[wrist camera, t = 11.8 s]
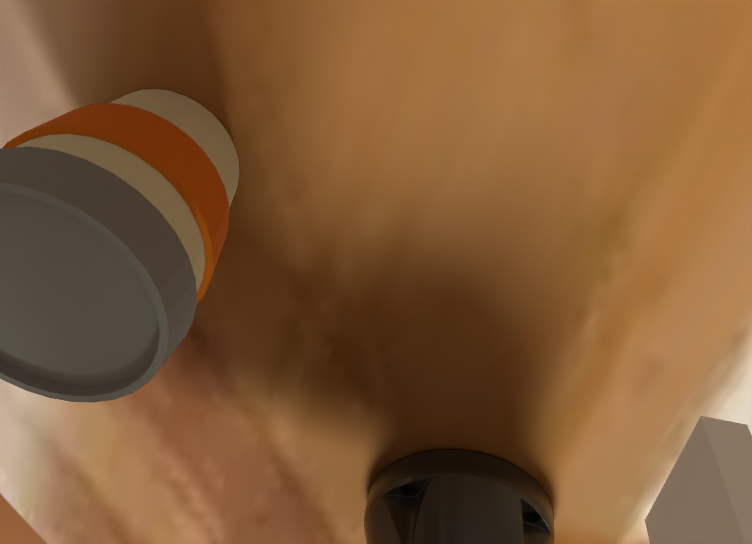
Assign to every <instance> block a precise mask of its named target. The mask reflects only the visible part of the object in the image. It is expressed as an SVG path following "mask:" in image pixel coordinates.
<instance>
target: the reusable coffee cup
mask: <svg viewBox="0 0 752 544" xmlns="http://www.w3.org/2000/svg"><path fill="white" fill-rule="evenodd" d="M239 176H240V173H239V160H238V156H237V152H236V148H235V146H234V144H233V142H232V139H231V137H230V135H229V134H228V132H227V131H226V129H225V128H224V127H223V125H222V124H221V123H220V121H219V120H218V119H217V118H216V117H215V116H214V115H213V114H212V113H211V112H210V111H208V110H207V109H206V108H204V107H203V106H202V105H201V104H199V103H198V102H196V101H194V100H192V99H190V98H188V97H186V96H185V95H182V94H179V93H175V92H172V91H168V90H161V89H144V90H139V91H135V92H132V93H129V94H127V95H125V96H122V97H120V98H118V99H116V100H114V101H112V102H110V103H104V104H92V105H88V106H85V107H82V108H78V109H75V110H73V111H71V112H68V113H66V114H64V115H62V116H60V117H57V118H55V119H53V120H51V121H48V122H46V123H44V124H42V125H40V126H37V127H35V128H33V129H31V130H28V131H26V132H24V133H22V134H21V135H19V136H17V137H16V138H14V139H12V140H11V141H9V142H7V143H6V145H5V146H4V147H3V148H2V149H0V378H1V379H2V380H4V381H6V382H9V383H11V384H13V385H15V386H18V387H20V388H22V389H24V390H26V391H30V392H33V393H36V394H39V395H42V396H46V397H49V398H54V399H60V400H65V401H71V402H100V401H107V400H114V399H117V398H120V397H123V396H126V395H128V394H131V393H133V392H135V391H136V390H138V389H139V388H141V387H142V386H144V385H145V384H147V383H148V382H149V381H150V380H151V379H152V377H153V376H154V375H155V374H156V373H157V372H158V370H159V369H160V368H161V367H162V365H163V364H164V363H165V362H166V360H167V359H168V358H169V357H170V355H171V354H172V353H173V352H174V350H175V349H176V348H177V347H178V345H179V344H180V343H181V342H182V340H183V339H184V338H185V337H186V335H187V333H188V331H189V329H190V327H191V325H192V323H193V320H194V317H195V311H196V305H197V304H198V303H199V302H200V300H201V299H202V298H203V296H204V294H205V292H206V290H207V288H208V285H209V283H210V281H211V278H212V275H213V273H214V270H215V267H216V264H217V262H218V259H219V256H220V253H221V251H222V248H223V245H224V242H225V240H226V237H227V232H228V227H229V222H230V215H229V208H230V206H231V203H232V200H233V198H234V195H235V192H236V190H237V187H238V181H239Z"/></svg>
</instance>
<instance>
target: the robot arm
mask: <svg viewBox="0 0 752 544" xmlns="http://www.w3.org/2000/svg"><path fill="white" fill-rule="evenodd" d="M645 523H646V527H647V532H648V536H649V541H650V544H752V436H751V433H750V431H749V429H748V426H747V425H745V424H740V423H734V422H729V421H724V420H719V419H714V418H709V417H704V416H701V417H700V419H699V421H698V423H697V424H696V426H695V428H694V430H693V432H692V434H691V436H690V437H689V439H688V441H687V443H686V445H685V447H684V449H683V450H682V452H681V454H680V456H679V458H678V460H677V462H676V464H675V465H674V467H673V469H672V471H671V473H670V475H669V477H668V478H667V480H666V482H665V484H664V486H663V488H662V490H661V491H660V493H659V495H658V497H657V499H656V501H655V503H654V504H653V506H652V508H651V510H650V512H649V514H648V516H647V518H646V519H645ZM364 528H365V535H366V541H367V544H554V520H553V510H552V506H551V503H550V500H549V498H548V496H547V494H546V493H545V491H544V490H543V489H542V487H541V486H540V485H539V484H538V483H537V482H536V481H535V480H534V479H533V478H532V477H531V476H529V475H528V474H527V473H525V472H524V471H522V470H521V469H519V468H518V467H516V466H514V465H512V464H510V463H508V462H506V461H503V460H501V459H498V458H495V457H492V456H489V455H485V454H481V453H477V452H471V451H463V450H434V451H427V452H422V453H417V454H414V455H410V456H408V457H405V458H402V459H400V460H398V461H396V462H394V463H393V464H391V465H390V466H388V467H387V468H385V469H384V470H383V471H382V472H381V473H380V474H379V475H378V476H377V477H376V479H375V480H374V482H373V484H372V485H371V488H370V491H369V494H368V499H367V505H366V510H365V516H364Z"/></svg>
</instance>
